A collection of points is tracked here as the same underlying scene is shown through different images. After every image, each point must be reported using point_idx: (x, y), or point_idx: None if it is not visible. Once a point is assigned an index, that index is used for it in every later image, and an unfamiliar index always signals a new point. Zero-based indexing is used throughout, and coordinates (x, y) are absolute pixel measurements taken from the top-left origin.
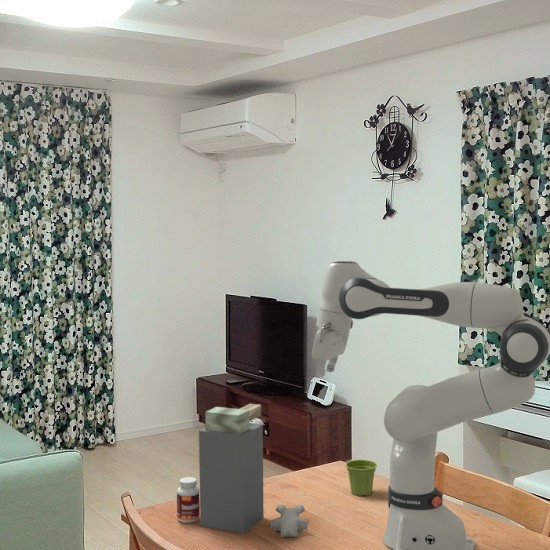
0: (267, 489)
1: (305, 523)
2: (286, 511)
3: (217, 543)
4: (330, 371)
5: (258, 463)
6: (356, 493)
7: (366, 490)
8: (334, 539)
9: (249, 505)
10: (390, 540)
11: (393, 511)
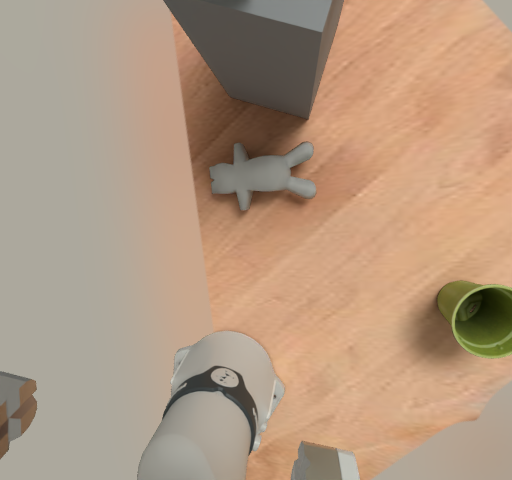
0: (475, 98)
1: (240, 206)
2: (256, 168)
3: (185, 58)
4: (295, 468)
5: (286, 74)
6: (441, 291)
7: (442, 313)
8: (226, 255)
9: (245, 89)
10: (201, 344)
11: (193, 372)
